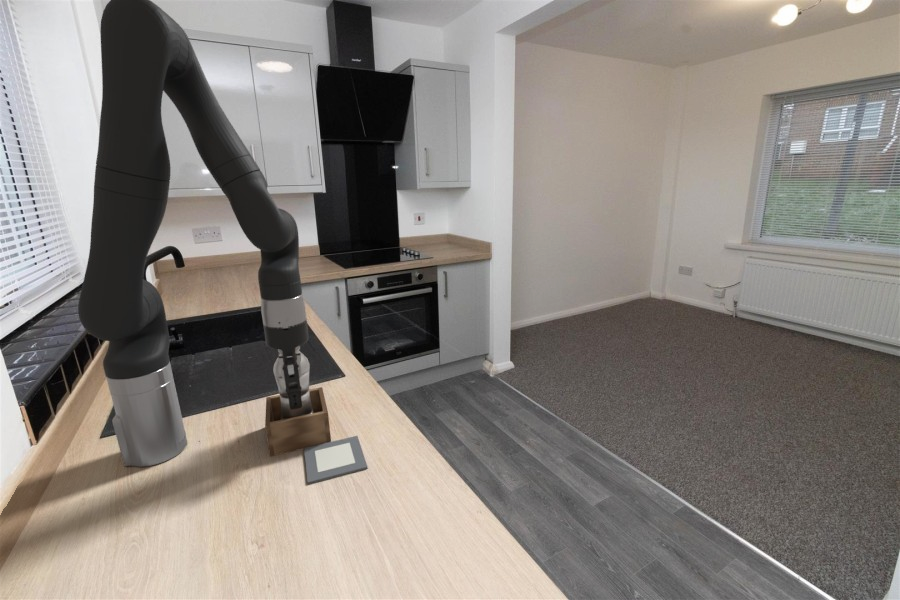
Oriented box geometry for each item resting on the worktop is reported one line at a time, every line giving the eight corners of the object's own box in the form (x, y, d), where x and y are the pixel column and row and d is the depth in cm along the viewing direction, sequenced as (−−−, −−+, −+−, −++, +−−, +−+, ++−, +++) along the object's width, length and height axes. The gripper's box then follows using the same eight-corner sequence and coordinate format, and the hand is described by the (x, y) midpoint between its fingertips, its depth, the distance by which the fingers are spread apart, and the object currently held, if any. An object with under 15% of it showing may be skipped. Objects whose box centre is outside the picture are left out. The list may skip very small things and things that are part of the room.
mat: (307, 484, 69) (307, 481, 68) (304, 449, 78) (303, 447, 77) (367, 468, 72) (367, 466, 72) (357, 437, 81) (357, 435, 81)
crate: (269, 456, 76) (265, 425, 74) (270, 425, 86) (266, 397, 84) (331, 442, 80) (328, 412, 78) (325, 413, 90) (322, 387, 88)
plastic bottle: (276, 433, 83) (262, 341, 77) (308, 420, 87) (297, 332, 82) (290, 447, 78) (276, 350, 73) (323, 432, 83) (312, 340, 77)
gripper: (263, 310, 81) (274, 387, 86) (261, 334, 68) (274, 423, 73) (303, 306, 84) (312, 381, 88) (308, 328, 71) (318, 414, 76)
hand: (295, 399), depth 81 cm, fingers closed on plastic bottle, 6 cm apart
